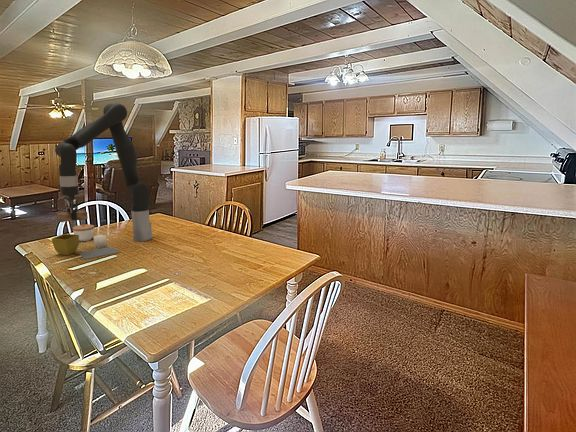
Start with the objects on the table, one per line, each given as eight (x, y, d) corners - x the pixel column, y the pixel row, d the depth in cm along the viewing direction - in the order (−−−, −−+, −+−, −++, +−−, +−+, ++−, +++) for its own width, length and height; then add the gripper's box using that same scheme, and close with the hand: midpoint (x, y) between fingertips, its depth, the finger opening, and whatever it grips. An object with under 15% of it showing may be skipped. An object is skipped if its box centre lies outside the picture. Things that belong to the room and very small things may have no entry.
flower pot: (68, 257, 182) (65, 239, 180) (53, 255, 184) (50, 238, 182) (81, 251, 190) (79, 234, 188) (66, 250, 192) (64, 233, 190)
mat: (111, 247, 198) (111, 246, 198) (119, 252, 189) (119, 252, 189) (78, 253, 187) (78, 252, 187) (85, 259, 178) (84, 258, 178)
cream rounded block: (105, 244, 203) (104, 233, 201) (108, 246, 198) (107, 236, 197) (93, 246, 199) (92, 235, 197) (96, 249, 194) (95, 238, 193)
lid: (84, 216, 189) (83, 210, 188) (87, 218, 185) (87, 212, 184) (57, 220, 181) (56, 213, 180) (60, 222, 176) (59, 215, 176)
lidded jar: (89, 236, 218) (87, 220, 215) (99, 239, 211) (97, 223, 209) (70, 240, 209) (68, 224, 207) (79, 243, 203) (77, 227, 201)
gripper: (82, 186, 177) (85, 220, 180) (73, 182, 187) (76, 215, 190) (64, 187, 171) (67, 222, 175) (56, 183, 182) (60, 217, 185)
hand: (72, 218), depth 183 cm, fingers closed on lid, 6 cm apart
